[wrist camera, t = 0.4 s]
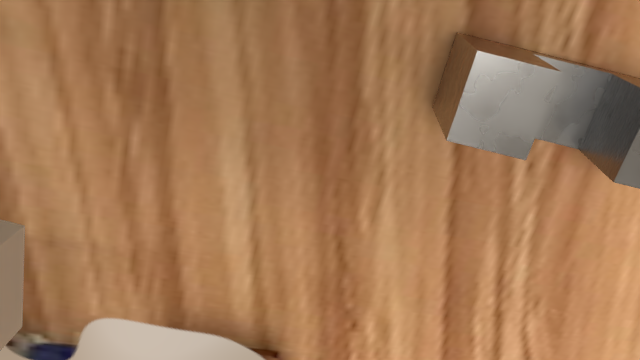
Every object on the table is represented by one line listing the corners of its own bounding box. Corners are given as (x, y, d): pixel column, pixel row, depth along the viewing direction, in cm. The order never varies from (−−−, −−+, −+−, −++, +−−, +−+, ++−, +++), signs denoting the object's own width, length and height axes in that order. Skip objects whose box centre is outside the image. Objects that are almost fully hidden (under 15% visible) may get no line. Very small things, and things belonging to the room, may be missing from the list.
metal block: (456, 32, 35) (477, 50, 28) (670, 86, 35) (739, 116, 28) (432, 107, 37) (446, 140, 30) (635, 157, 37) (692, 201, 30)
